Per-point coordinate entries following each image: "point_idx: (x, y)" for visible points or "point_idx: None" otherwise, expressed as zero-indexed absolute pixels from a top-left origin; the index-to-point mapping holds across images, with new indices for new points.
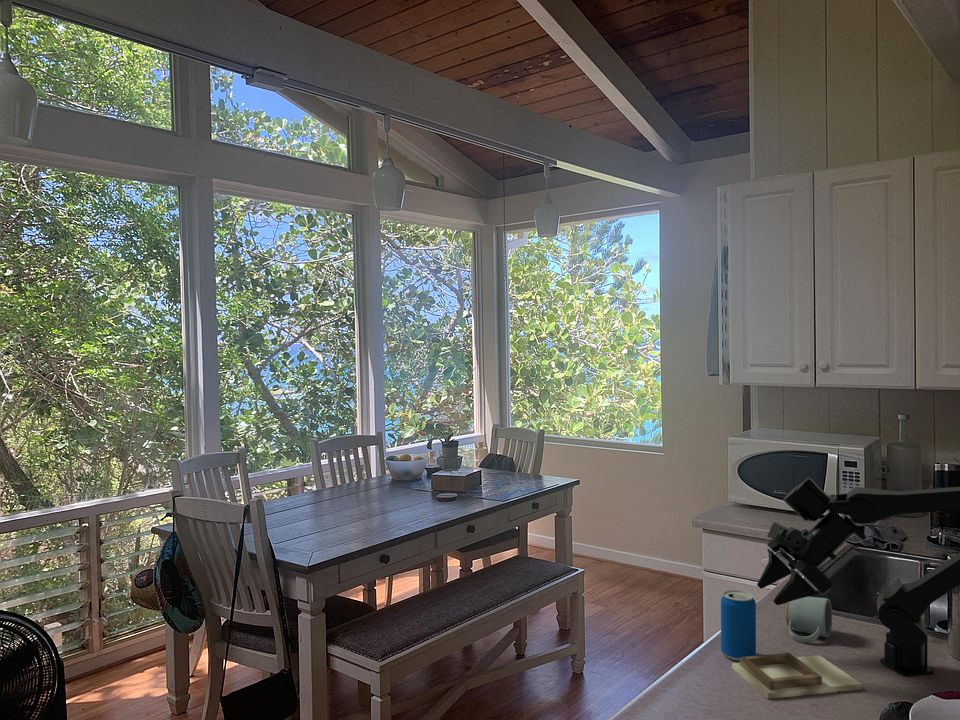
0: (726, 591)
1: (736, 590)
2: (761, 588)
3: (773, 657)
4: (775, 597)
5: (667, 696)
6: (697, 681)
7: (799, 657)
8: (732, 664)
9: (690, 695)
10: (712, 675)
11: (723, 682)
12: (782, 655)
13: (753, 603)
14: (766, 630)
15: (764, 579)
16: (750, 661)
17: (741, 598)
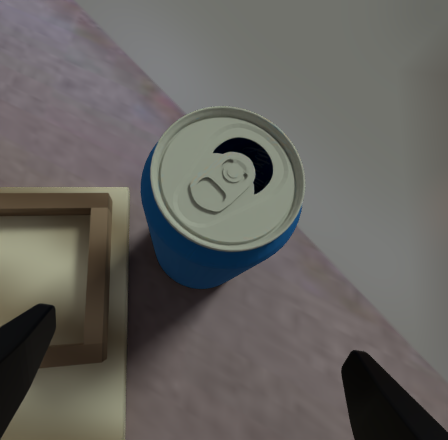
0: (291, 146)
1: (300, 200)
2: (341, 372)
3: (87, 293)
4: (36, 320)
5: (37, 9)
6: (85, 89)
7: (120, 409)
8: (127, 188)
9: (26, 48)
10: (106, 132)
11: (64, 138)
12: (86, 328)
13: (162, 231)
14: None
15: (380, 412)
16: (72, 207)
17: (199, 178)
